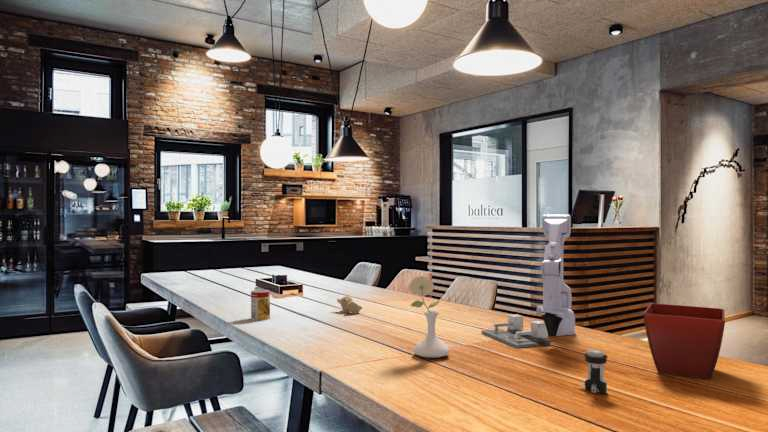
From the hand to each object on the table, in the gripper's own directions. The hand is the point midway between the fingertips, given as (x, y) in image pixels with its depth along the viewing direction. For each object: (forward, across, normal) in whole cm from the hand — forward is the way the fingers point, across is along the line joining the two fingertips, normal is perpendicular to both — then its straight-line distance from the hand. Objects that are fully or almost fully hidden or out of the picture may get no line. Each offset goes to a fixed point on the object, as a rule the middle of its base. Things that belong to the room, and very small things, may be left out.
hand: (552, 336), depth 179 cm
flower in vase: (+4, -3, -43) cm, 43 cm away
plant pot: (+4, +36, +18) cm, 40 cm away
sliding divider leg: (+2, -7, -3) cm, 8 cm away
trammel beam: (+3, -14, 0) cm, 15 cm away
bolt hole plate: (+3, -14, -8) cm, 17 cm away
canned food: (+4, -84, -87) cm, 121 cm away
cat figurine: (+4, -86, -47) cm, 98 cm away
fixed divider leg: (+2, -22, -3) cm, 23 cm away
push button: (+4, +42, -18) cm, 46 cm away
